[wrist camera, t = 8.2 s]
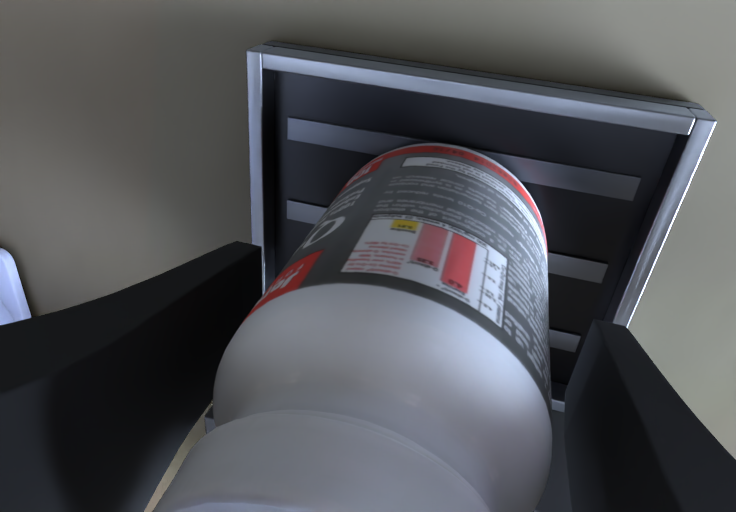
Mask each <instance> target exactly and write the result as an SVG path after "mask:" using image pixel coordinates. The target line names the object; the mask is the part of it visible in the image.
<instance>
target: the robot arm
mask: <svg viewBox="0 0 736 512" xmlns="http://www.w3.org/2000/svg"><path fill="white" fill-rule="evenodd" d="M262 296H263V289H262V246H257V245H252V244H248V243H243V242H239V241H236V242H233V243H230V244H227V245H225V246H223V247H220V248H218V249H216V250H213V251H211V252H209V253H207V254H204V255H202V256H200V257H198V258H196V259H193V260H191V261H189V262H187V263H185V264H182V265H180V266H178V267H176V268H173V269H171V270H169V271H167V272H164V273H162V274H160V275H158V276H155V277H153V278H150V279H148V280H145V281H143V282H140V283H138V284H135V285H133V286H130V287H128V288H125V289H123V290H120V291H118V292H115V293H112V294H110V295H107V296H104V297H101V298H98V299H95V300H92V301H89V302H86V303H83V304H80V305H77V306H73V307H70V308H67V309H64V310H60V311H57V312H53V313H49V314H45V315H41V316H37V317H33V318H32V317H31V314H30V310H29V307H28V304H27V301H26V297H25V294H24V291H23V287H22V284H21V281H20V278H19V274H18V271H17V268H16V265H15V261H14V259H13V257H12V256H11V255H10V253H9V252H7V251H6V250H4V249H2V248H0V512H144V510H145V508H146V506H147V505H148V503H149V501H150V499H151V497H152V495H153V493H154V492H155V490H156V488H157V486H158V484H159V482H160V481H161V479H162V477H163V475H164V474H165V472H166V470H167V468H168V467H169V465H170V463H171V461H172V460H173V458H174V456H175V454H176V453H177V451H178V449H179V447H180V446H181V444H182V443H183V441H184V440H185V438H186V437H187V435H188V434H189V432H190V430H191V429H192V428H193V426H194V425H195V423H196V422H197V421H198V419H199V418H200V416H201V415H202V414H203V412H204V411H205V409H206V408H207V407H208V405H209V404H210V403H211V401H212V400H213V389H214V383H215V378H216V373H217V370H218V366H219V364H220V361H221V359H222V356H223V354H224V352H225V349H226V348H227V346H228V344H229V343H230V341H231V339H232V338H233V336H234V335H235V333H236V331H237V330H238V328H239V327H240V325H241V324H242V322H243V321H244V319H245V318H246V317H247V316H248V314H249V313H250V312H251V310H252V309H253V308H254V306H255V305H256V303H257V302H258V301H259V300H260V299H261V297H262ZM564 443H565V453H566V462H567V472H568V481H569V490H570V499H571V508H572V512H736V460H735V459H734V458H733V457H732V456H731V455H730V454H729V453H728V451H727V450H726V449H725V448H724V447H723V446H722V445H721V444H720V443H719V442H718V440H717V439H716V438H715V437H714V436H713V435H712V434H711V433H710V432H709V430H708V429H707V428H706V427H705V426H704V425H703V424H702V423H701V421H700V420H699V419H698V418H697V417H696V416H695V414H694V413H693V412H692V411H691V410H690V408H689V407H688V406H687V405H686V404H685V402H684V401H683V400H682V399H681V398H680V396H679V395H678V394H677V393H676V391H675V390H674V389H673V387H672V386H671V385H670V384H669V382H668V381H667V380H666V379H665V377H664V376H663V375H662V373H661V372H660V371H659V369H658V368H657V367H656V365H655V364H654V363H653V361H652V360H651V359H650V358H649V356H648V355H647V354H646V352H645V351H644V349H643V348H642V347H641V345H640V344H639V343H638V341H637V340H636V339H635V337H634V336H633V335H632V334H631V332H630V331H629V330H628V329H627V327H626V326H624V325H619V324H614V323H610V322H605V321H601V320H596V319H593V322H592V324H591V327H590V329H589V332H588V335H587V337H586V340H585V342H584V345H583V347H582V350H581V353H580V355H579V358H578V360H577V363H576V365H575V368H574V371H573V373H572V376H571V378H570V381H569V383H568V386H567V389H566V391H565V409H564Z"/></svg>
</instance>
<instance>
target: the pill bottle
mask: <svg viewBox="0 0 736 512" xmlns="http://www.w3.org/2000/svg"><path fill="white" fill-rule="evenodd" d="M213 416H214V423H215V427H216V428H215V429H213V430H212V431H211V432H209V433H208V434H206V435H205V436H204V437H202V438H201V439H200V440H199V441H198V442H197V443H196V444H195V445H194V446H193V447H192V449H191V450H190V451H189V453H188V455H187V456H186V458H185V460H184V462H183V463H182V465H181V467H180V469H179V470H178V472H177V474H176V475H175V477H174V479H173V480H172V482H171V484H170V485H169V487H168V488H167V490H166V491H165V493H164V495H163V496H162V498H161V499H160V501H159V502H158V504H157V505H156V507H155V508H154V510H153V512H533V510H534V509H535V507H536V506H537V504H538V503H539V501H540V498H541V496H542V494H543V491H544V489H545V486H546V483H547V479H548V476H549V471H550V465H551V457H552V435H553V426H552V399H551V372H550V342H549V305H548V270H547V241H546V235H545V230H544V226H543V222H542V218H541V215H540V213H539V211H538V208H537V206H536V204H535V202H534V200H533V199H532V197H531V195H530V194H529V192H528V191H527V190H526V188H525V187H524V186H523V184H522V183H521V182H520V181H519V180H518V179H517V178H516V177H515V176H514V175H513V174H512V173H511V172H509V171H508V170H507V169H506V168H504V167H503V166H502V165H500V164H499V163H497V162H496V161H494V160H492V159H491V158H489V157H487V156H485V155H483V154H481V153H478V152H476V151H473V150H470V149H467V148H464V147H460V146H455V145H450V144H442V143H423V144H415V145H409V146H404V147H401V148H397V149H394V150H391V151H389V152H387V153H384V154H382V155H380V156H378V157H377V158H375V159H373V160H372V161H370V162H369V163H367V164H366V165H365V166H363V167H362V168H361V169H360V170H359V171H358V172H357V173H356V174H355V175H354V176H353V177H352V178H351V179H350V180H349V181H348V182H347V183H346V184H345V186H344V187H343V188H342V190H341V191H340V192H339V194H338V195H337V197H336V198H335V199H334V201H333V202H332V203H331V205H330V206H329V208H328V209H327V210H326V212H325V213H324V214H323V216H322V217H321V218H320V220H319V221H318V222H317V224H316V225H315V227H314V228H313V229H312V230H311V232H310V233H309V234H308V236H307V237H306V238H305V240H304V241H303V243H302V244H301V245H300V247H299V248H298V249H297V250H296V252H295V253H294V254H293V256H292V257H291V259H290V260H289V261H288V263H287V264H286V265H285V267H284V268H283V269H282V271H281V272H280V273H279V275H278V276H277V277H276V279H275V280H274V281H273V283H272V284H271V285H270V287H269V288H268V289H267V291H266V292H265V293H264V295H263V296H262V297H261V299H260V300H259V301H258V302H257V303H256V305H255V306H254V308H253V309H252V310H251V312H250V313H249V314H248V316H247V317H246V318H245V319H244V321H243V322H242V324H241V325H240V327H239V328H238V330H237V331H236V333H235V335H234V336H233V338H232V339H231V341H230V343H229V344H228V346H227V348H226V349H225V352H224V354H223V356H222V359H221V361H220V364H219V366H218V370H217V373H216V378H215V383H214V389H213Z"/></svg>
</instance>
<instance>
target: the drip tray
mask: <svg viewBox="0 0 736 512" xmlns="http://www.w3.org/2000/svg"><path fill="white" fill-rule="evenodd" d="M246 65H247V98H248V130H249V163H250V195H251V228H252V245H257V246H262V289H263V295H264V293H265V292H266V291H267V289H268V288H269V287H270V285H271V284H272V283H273V281H274V280H275V279H276V277H277V276H278V275H279V273H280V272H281V271H282V269H283V268H284V267H285V265H286V264H287V263H288V261H289V260H290V259H291V257H292V256H293V254H294V253H295V252H296V250H297V249H298V248H299V247H300V245H301V244H302V243H303V241H304V240H305V238H306V237H307V236H308V234H309V233H310V232H311V230H312V229H313V228H314V227H315V225H316V224H317V222H318V221H319V220H320V218H321V217H322V216H323V214H324V213H325V212H326V210H327V209H328V208H329V206H330V205H331V203H332V202H333V201H334V199H335V198H336V197H337V195H338V194H339V192H340V191H341V190H342V188H343V187H344V186H345V184H346V183H347V182H348V181H349V180H350V179H351V178H352V177H353V176H354V175H355V174H356V173H357V172H358V171H359V170H360V169H361V168H362V167H363V166H365V165H366V164H367V163H369V162H370V161H372V160H373V159H375V158H377V157H378V156H380V155H382V154H384V153H387V152H389V151H391V150H394V149H397V148H401V147H404V146H409V145H415V144H423V143H442V144H450V145H455V146H460V147H464V148H467V149H470V150H473V151H476V152H478V153H481V154H483V155H485V156H487V157H489V158H491V159H492V160H494V161H496V162H497V163H499V164H500V165H502V166H503V167H504V168H506V169H507V170H508V171H509V172H511V173H512V174H513V175H514V176H515V177H516V178H517V179H518V180H519V181H520V182H521V183H522V184H523V186H524V187H525V188H526V190H527V191H528V192H529V194H530V195H531V197H532V199H533V200H534V202H535V204H536V206H537V208H538V211H539V213H540V215H541V218H542V222H543V226H544V230H545V235H546V241H547V270H548V305H549V342H550V372H551V399H552V410H556V411H560V412H564V409H565V391H566V389H567V386H568V383H569V381H570V378H571V376H572V373H573V371H574V368H575V365H576V363H577V360H578V358H579V355H580V353H581V350H582V347H583V345H584V342H585V340H586V337H587V335H588V332H589V329H590V327H591V324H592V322H593V319H596V320H601V321H605V322H610V323H614V324H619V325H624V326H626V327H628V325H629V323H630V320H631V318H632V316H633V313H634V311H635V309H636V306H637V304H638V302H639V300H640V297H641V295H642V293H643V290H644V288H645V286H646V283H647V281H648V279H649V277H650V274H651V272H652V270H653V267H654V265H655V263H656V260H657V258H658V256H659V254H660V251H661V249H662V247H663V244H664V242H665V240H666V237H667V235H668V233H669V231H670V228H671V226H672V224H673V221H674V219H675V217H676V214H677V212H678V210H679V208H680V205H681V203H682V201H683V198H684V196H685V194H686V191H687V189H688V187H689V185H690V182H691V180H692V178H693V175H694V173H695V171H696V169H697V166H698V164H699V162H700V159H701V157H702V155H703V152H704V150H705V148H706V146H707V143H708V141H709V139H710V136H711V134H712V132H713V129H714V127H715V125H716V123H717V121H716V120H715V119H714V118H713V117H712V116H711V115H710V114H709V113H708V112H707V111H706V110H705V109H704V108H703V107H702V106H701V105H699V104H698V103H691V102H684V101H677V100H671V99H664V98H657V97H650V96H643V95H636V94H630V93H623V92H616V91H609V90H602V89H596V88H589V87H582V86H575V85H568V84H561V83H555V82H548V81H541V80H534V79H527V78H521V77H514V76H507V75H500V74H493V73H486V72H480V71H473V70H466V69H459V68H452V67H446V66H439V65H432V64H425V63H418V62H411V61H405V60H398V59H391V58H384V57H377V56H371V55H364V54H357V53H350V52H343V51H336V50H330V49H323V48H316V47H309V46H302V45H295V44H289V43H282V42H275V41H269V42H266V43H264V44H262V45H261V44H260V45H257V46H255V47H252V48H250V49H247V50H246Z"/></svg>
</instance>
